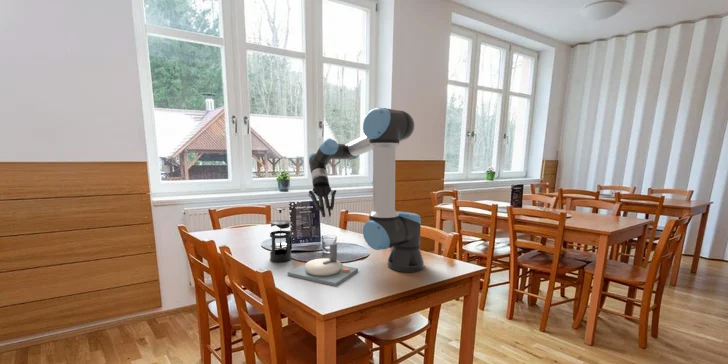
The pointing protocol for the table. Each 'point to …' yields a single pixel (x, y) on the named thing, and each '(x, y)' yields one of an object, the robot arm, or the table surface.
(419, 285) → the table surface
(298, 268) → the dial board
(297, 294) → the table surface
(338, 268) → the dial
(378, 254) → the table surface
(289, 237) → the french press
